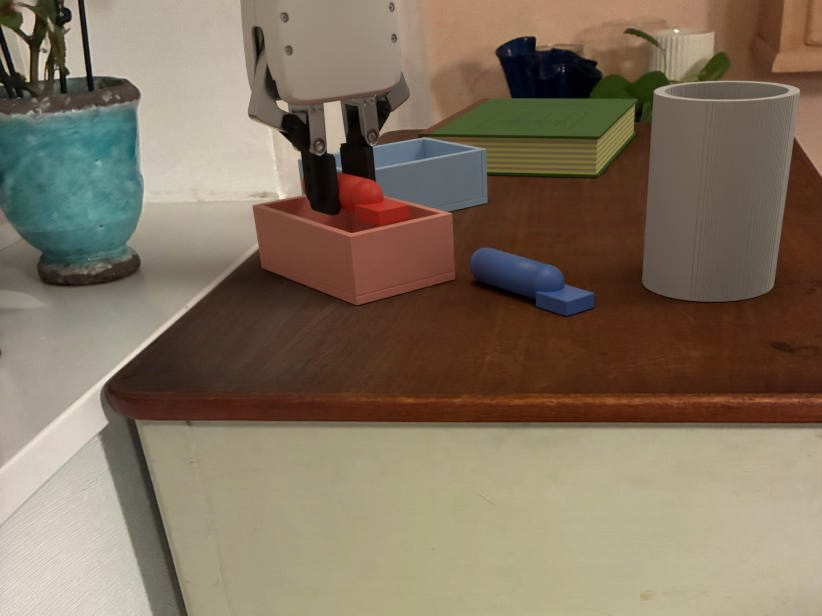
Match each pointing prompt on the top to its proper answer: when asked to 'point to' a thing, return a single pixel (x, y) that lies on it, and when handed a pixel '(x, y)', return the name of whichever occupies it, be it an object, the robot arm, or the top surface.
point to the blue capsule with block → (530, 281)
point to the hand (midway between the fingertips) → (343, 206)
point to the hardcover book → (542, 134)
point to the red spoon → (368, 201)
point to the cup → (717, 188)
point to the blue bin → (429, 173)
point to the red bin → (355, 249)
